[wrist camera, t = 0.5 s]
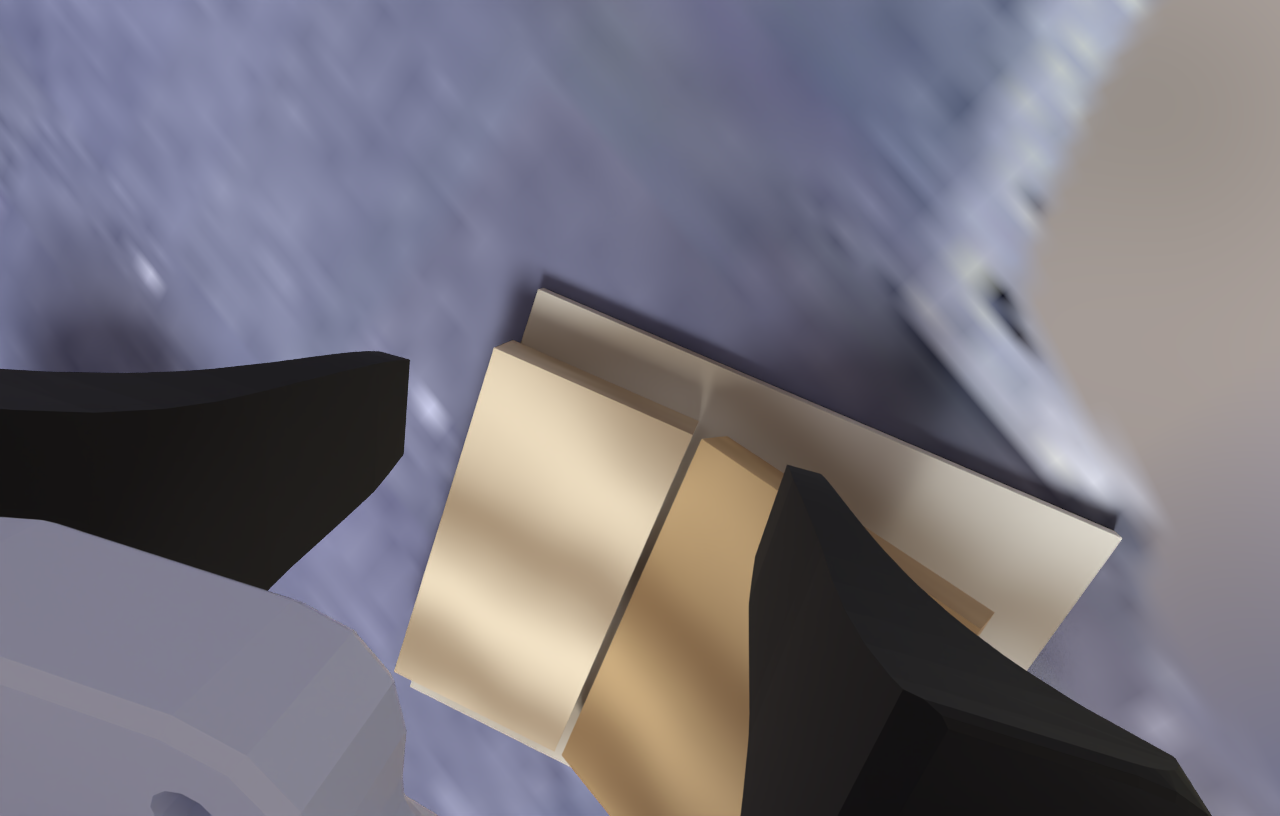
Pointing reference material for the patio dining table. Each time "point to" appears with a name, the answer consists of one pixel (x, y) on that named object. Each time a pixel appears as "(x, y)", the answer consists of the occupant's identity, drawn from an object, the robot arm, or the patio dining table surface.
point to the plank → (696, 649)
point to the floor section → (640, 502)
